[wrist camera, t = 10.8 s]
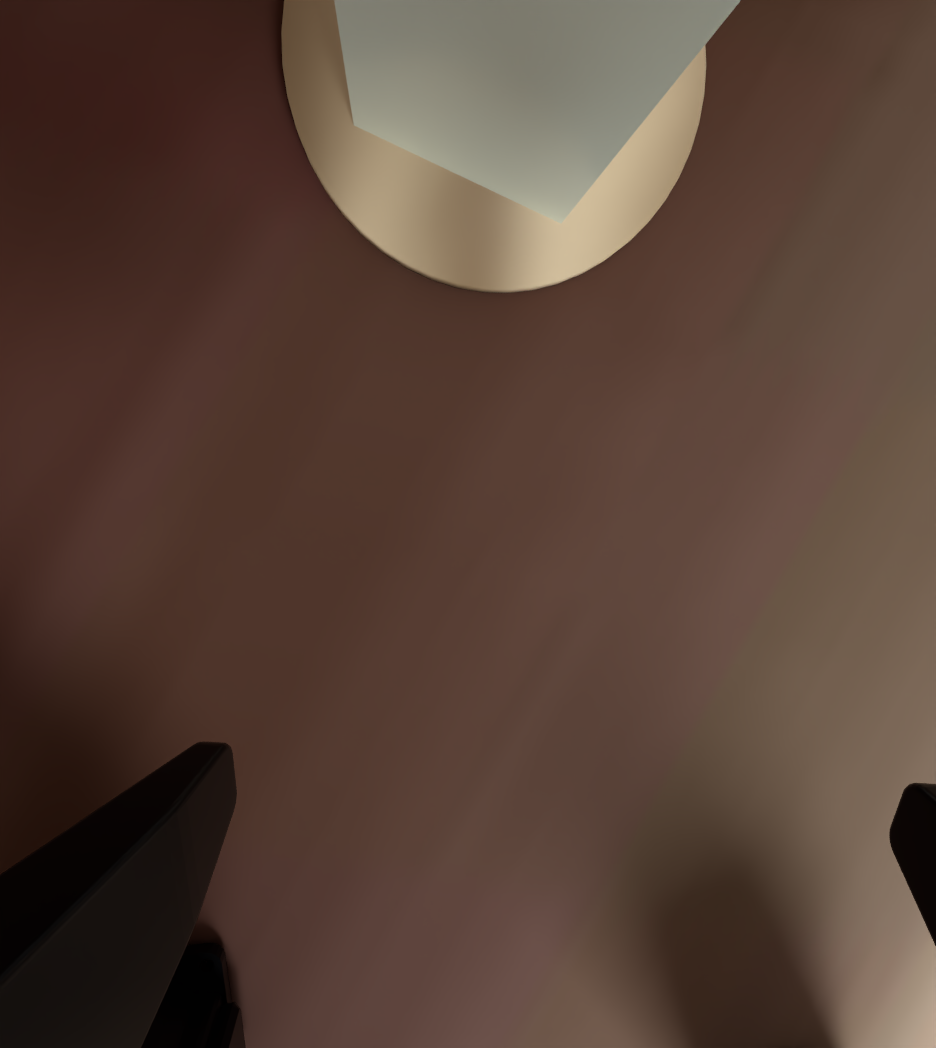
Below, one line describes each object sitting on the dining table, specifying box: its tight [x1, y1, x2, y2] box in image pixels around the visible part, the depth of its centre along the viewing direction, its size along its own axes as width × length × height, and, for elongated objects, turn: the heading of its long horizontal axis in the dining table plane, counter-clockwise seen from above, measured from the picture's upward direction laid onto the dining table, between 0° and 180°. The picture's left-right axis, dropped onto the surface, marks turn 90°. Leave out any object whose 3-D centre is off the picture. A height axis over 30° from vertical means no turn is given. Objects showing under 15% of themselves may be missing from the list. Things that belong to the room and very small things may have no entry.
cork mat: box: [281, 0, 706, 293], centre depth 18 cm, size 12×12×1 cm
